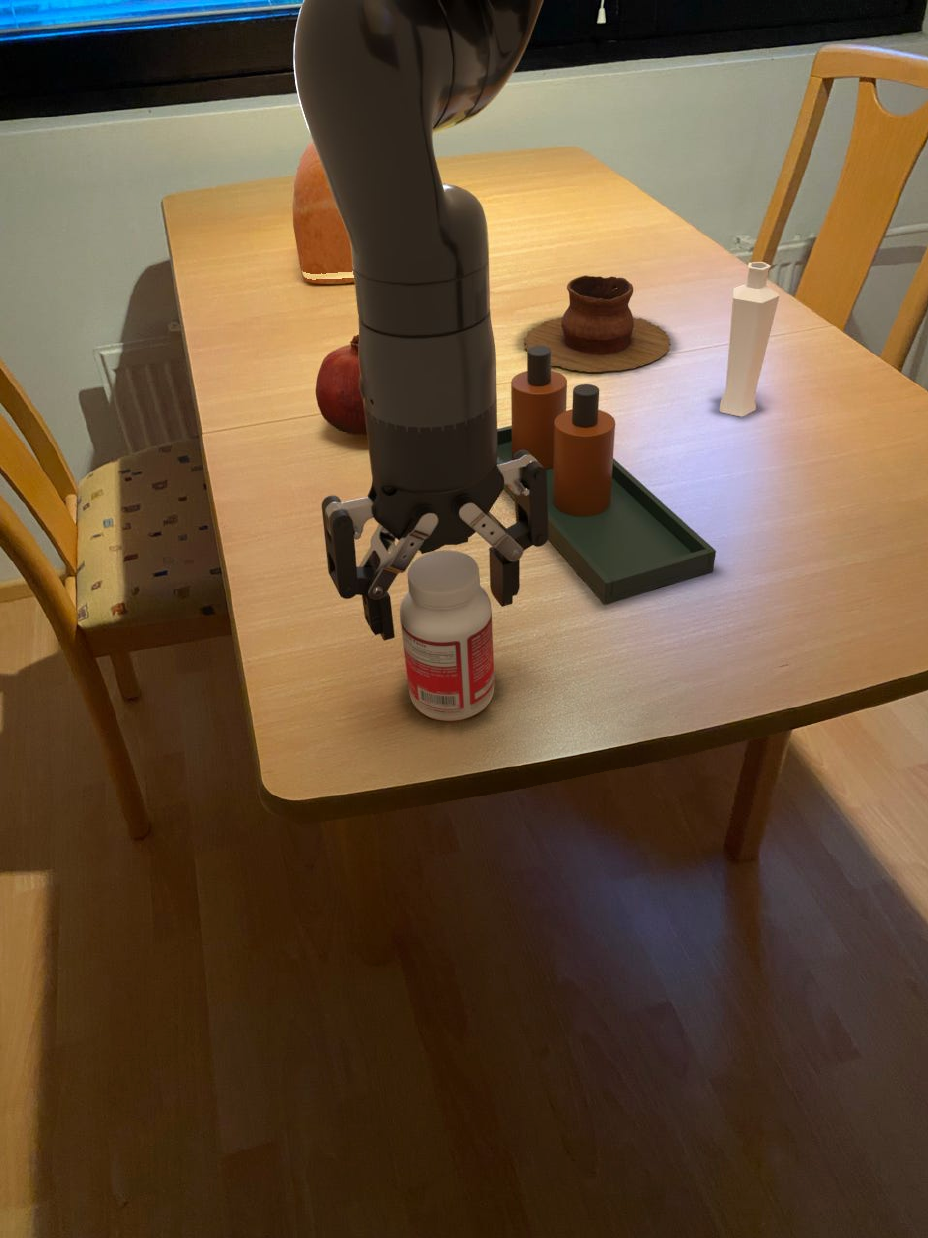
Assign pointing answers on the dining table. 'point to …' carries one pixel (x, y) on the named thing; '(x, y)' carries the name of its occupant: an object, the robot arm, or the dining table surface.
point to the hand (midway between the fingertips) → (444, 615)
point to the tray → (622, 537)
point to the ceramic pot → (599, 329)
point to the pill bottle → (447, 636)
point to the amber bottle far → (537, 406)
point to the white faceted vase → (748, 339)
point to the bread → (319, 223)
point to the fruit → (342, 390)
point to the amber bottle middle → (583, 455)
